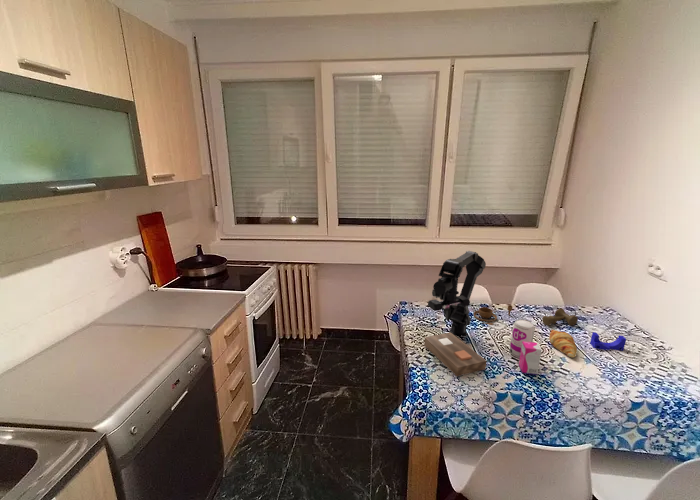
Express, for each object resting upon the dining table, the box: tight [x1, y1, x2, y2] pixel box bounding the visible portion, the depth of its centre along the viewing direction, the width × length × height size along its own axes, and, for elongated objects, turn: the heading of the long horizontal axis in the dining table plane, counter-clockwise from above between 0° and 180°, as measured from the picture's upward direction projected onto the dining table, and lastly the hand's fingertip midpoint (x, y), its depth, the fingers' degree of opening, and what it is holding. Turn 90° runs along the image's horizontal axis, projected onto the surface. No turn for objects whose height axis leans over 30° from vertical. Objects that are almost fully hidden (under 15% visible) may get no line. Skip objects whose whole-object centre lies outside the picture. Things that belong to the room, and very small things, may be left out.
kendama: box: [541, 307, 579, 327], centre depth 174 cm, size 6×10×20 cm
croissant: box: [549, 329, 578, 358], centre depth 151 cm, size 21×10×8 cm, turn 172°
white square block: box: [438, 338, 453, 345], centre depth 148 cm, size 5×5×4 cm
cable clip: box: [589, 331, 627, 351], centre depth 151 cm, size 12×4×6 cm, turn 74°
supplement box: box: [518, 341, 542, 376], centre depth 133 cm, size 6×6×12 cm
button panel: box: [423, 331, 487, 377], centre depth 143 cm, size 14×24×4 cm, turn 20°
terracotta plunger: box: [454, 350, 472, 361], centre depth 137 cm, size 5×5×4 cm
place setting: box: [473, 305, 514, 326], centre depth 178 cm, size 18×20×6 cm
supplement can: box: [509, 319, 536, 359], centre depth 144 cm, size 8×8×15 cm
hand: (447, 320), depth 150 cm, fingers closed
